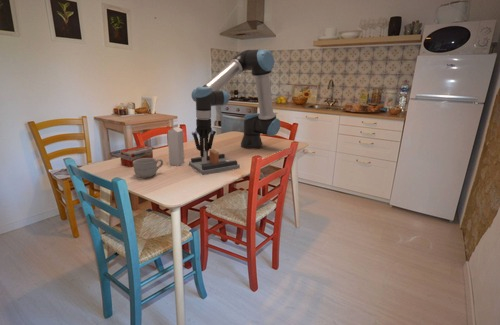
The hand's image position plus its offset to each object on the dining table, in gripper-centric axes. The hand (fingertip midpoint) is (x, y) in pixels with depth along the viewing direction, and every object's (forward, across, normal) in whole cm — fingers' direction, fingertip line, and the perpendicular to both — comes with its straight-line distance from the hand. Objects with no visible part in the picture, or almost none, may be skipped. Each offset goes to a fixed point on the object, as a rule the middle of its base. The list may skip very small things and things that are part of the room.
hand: (204, 162), depth 151 cm
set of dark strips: (+1, -6, 0) cm, 6 cm away
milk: (+4, +10, -14) cm, 18 cm away
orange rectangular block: (+1, -6, 0) cm, 6 cm away
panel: (+3, -6, 0) cm, 7 cm away
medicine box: (+4, +28, -26) cm, 38 cm away
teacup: (+4, +28, -3) cm, 29 cm away
